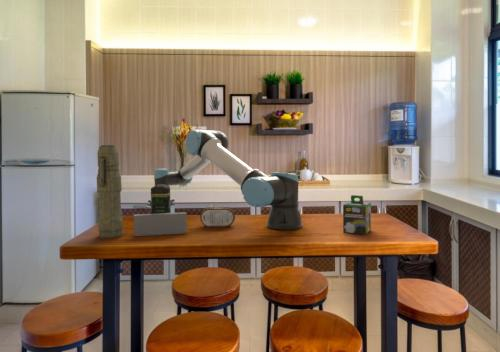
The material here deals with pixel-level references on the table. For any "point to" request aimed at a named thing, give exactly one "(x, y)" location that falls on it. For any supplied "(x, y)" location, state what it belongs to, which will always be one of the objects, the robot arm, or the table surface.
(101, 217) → the carved stone statue
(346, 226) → the chalk box
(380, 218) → the table surface
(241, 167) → the robot arm
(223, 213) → the tin
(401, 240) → the table surface
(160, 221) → the board
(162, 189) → the coffee jar
